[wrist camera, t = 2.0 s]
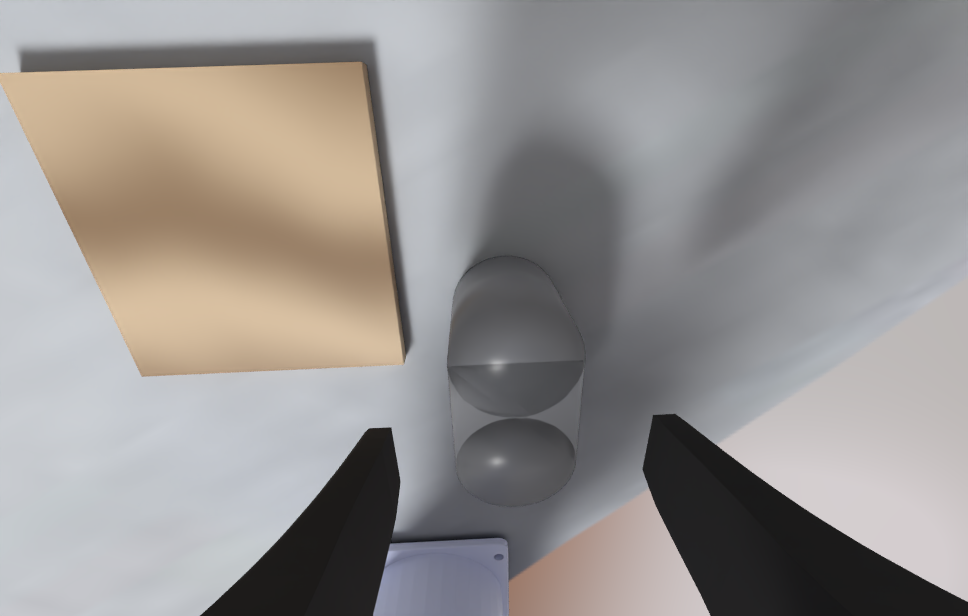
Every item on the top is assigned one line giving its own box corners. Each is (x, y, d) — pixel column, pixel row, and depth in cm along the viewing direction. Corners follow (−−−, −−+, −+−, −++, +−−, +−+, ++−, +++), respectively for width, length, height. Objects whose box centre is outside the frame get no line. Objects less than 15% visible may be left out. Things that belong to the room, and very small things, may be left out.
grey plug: (548, 465, 18) (568, 547, 15) (464, 469, 18) (463, 553, 15) (559, 253, 14) (590, 296, 10) (449, 258, 14) (442, 302, 10)
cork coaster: (405, 356, 16) (403, 364, 15) (153, 367, 15) (141, 376, 15) (366, 65, 11) (361, 61, 11) (18, 76, 11) (-5, 73, 11)
